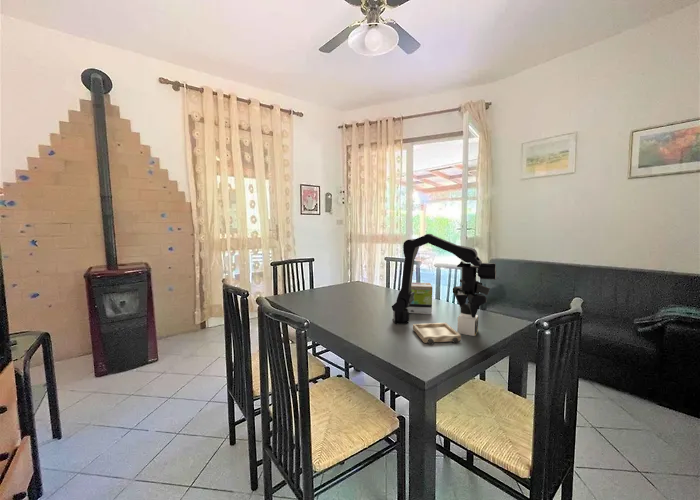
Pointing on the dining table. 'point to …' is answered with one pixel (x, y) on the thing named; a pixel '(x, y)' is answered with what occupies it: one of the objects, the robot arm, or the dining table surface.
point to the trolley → (436, 333)
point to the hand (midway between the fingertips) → (468, 314)
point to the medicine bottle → (467, 322)
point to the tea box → (421, 298)
